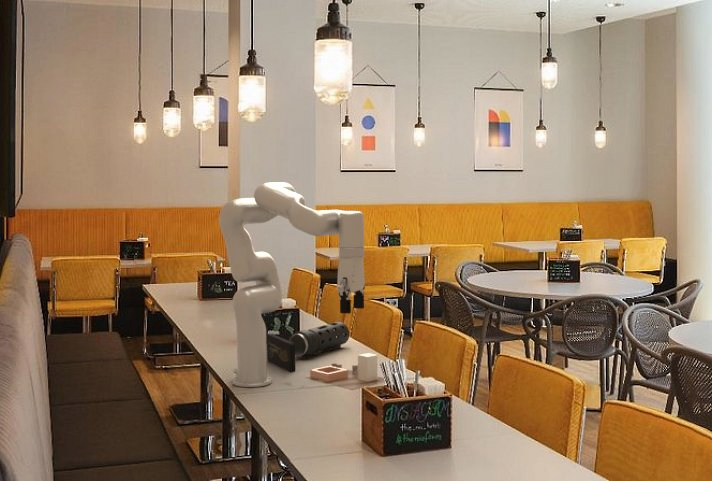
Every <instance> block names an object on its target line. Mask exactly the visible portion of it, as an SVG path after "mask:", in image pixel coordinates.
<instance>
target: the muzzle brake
mask: <svg viewBox="0 0 712 481" xmlns="http://www.w3.org/2000/svg"><path fill="white" fill-rule="evenodd" d="M349 339H350V330H349V328H348V326H347V325H346V324H345V323H344V322H342V321H335V322H331V323H328V324H324V325H321V326H317V327H314V328H310V329H303V330H299V331H295V332H294V333H293V334H292V336H291V337H289V340H288V341H291V342H293V343H294V344H295V357H300V358H305V357H306V358H311V357H314V356H315V354H317V353H325V352H329V351H331V350H335V349H337V348H341V346H342V345H344V344H346V343H347V342H348V341H349Z"/></svg>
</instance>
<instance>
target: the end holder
mask: <svg viewBox="0 0 712 481" xmlns="http://www.w3.org/2000/svg"><path fill="white" fill-rule="evenodd" d="M348 370H349V369H348ZM348 370H347V368H338V367H334V366H332V365H328V366H327V365H326V366H321V367H318V368H317V367H316V368H313V369H310V370H309V377H311V378H315V379H319V380H323V381H327V382H330V381H334V380H338V379H343V378H347V377H348Z"/></svg>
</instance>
